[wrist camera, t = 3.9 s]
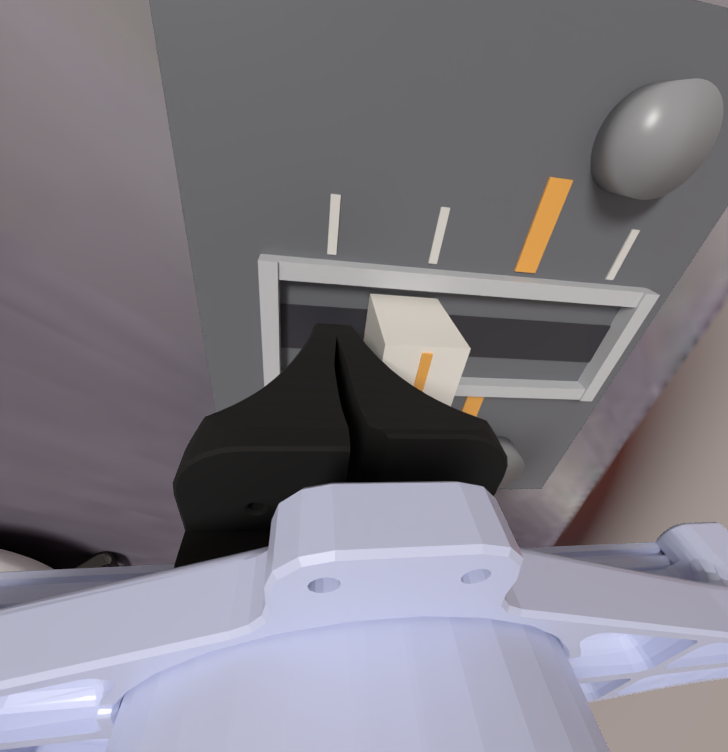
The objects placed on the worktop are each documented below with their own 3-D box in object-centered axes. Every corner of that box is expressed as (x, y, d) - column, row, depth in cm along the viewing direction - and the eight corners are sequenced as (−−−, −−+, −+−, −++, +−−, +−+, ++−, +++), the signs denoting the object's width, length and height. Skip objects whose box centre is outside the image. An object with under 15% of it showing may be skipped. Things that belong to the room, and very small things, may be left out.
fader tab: (418, 370, 15) (443, 431, 12) (359, 367, 14) (370, 430, 11) (437, 298, 13) (471, 350, 10) (369, 293, 12) (385, 345, 10)
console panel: (529, 468, 22) (552, 506, 20) (233, 470, 20) (223, 513, 17) (782, 44, 11) (897, 26, 9) (155, -101, 8) (95, -180, 6)
